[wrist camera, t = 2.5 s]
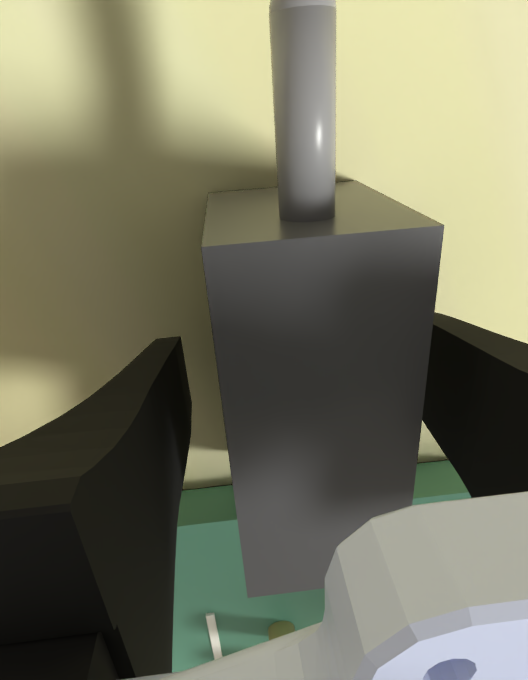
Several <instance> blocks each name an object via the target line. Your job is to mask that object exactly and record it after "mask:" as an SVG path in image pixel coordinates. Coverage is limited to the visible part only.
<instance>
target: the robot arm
mask: <svg viewBox="0 0 528 680" xmlns="http://www.w3.org/2000/svg"><path fill="white" fill-rule="evenodd" d="M191 412H192V402H191V396H190V390H189V384H188V378H187V372H186V367H185V361H184V355H183V349H182V343H181V337H171V338H161V339H156V340H155V341H153V342H152V343H151V344H150V345H149V346H148V347H147V348H146V349H145V350H144V351H143V352H141V353H140V354H139V355H138V356H137V357H136V358H135V359H134V360H133V361H132V362H131V363H130V364H129V365H128V366H126V367H125V368H124V369H123V370H122V371H121V372H120V373H119V374H117V375H116V376H115V377H114V378H113V379H111V380H110V381H109V382H108V383H107V384H105V385H104V386H103V387H102V388H100V389H99V390H98V391H97V392H95V393H94V394H93V395H91V396H90V397H89V398H87V399H86V400H84V401H83V402H82V403H80V404H79V405H77V406H76V407H74V408H72V409H71V410H69V411H68V412H66V413H65V414H63V415H62V416H60V417H58V418H56V419H55V420H53V421H51V422H49V423H47V424H45V425H44V426H42V427H40V428H38V429H36V430H34V431H33V432H31V433H29V434H27V435H25V436H23V437H21V438H19V439H17V440H15V441H13V442H11V443H9V444H6V445H4V446H2V447H0V680H528V344H527V343H523V342H520V341H517V340H514V339H511V338H508V337H505V336H502V335H500V334H497V333H494V332H491V331H489V330H486V329H483V328H480V327H478V326H475V325H472V324H469V323H467V322H464V321H461V320H458V319H456V318H453V317H450V316H446V315H443V314H439V313H435V312H434V319H433V328H432V337H431V345H430V354H429V363H428V372H427V380H426V389H425V398H424V407H423V415H422V420H423V422H424V423H425V425H426V426H427V428H428V429H429V431H430V432H431V434H432V435H433V437H434V438H435V440H436V442H437V443H438V445H439V446H440V448H441V449H442V451H443V452H444V454H445V455H446V457H447V458H448V460H449V461H450V463H451V464H452V466H453V467H454V469H455V470H456V472H457V473H458V475H459V476H460V478H461V480H462V481H463V483H464V485H465V486H466V488H467V490H468V492H469V494H470V496H471V498H468V499H460V500H452V501H443V502H435V503H427V504H418V505H412V506H409V507H405V508H402V509H399V510H396V511H392V512H389V513H386V514H383V515H379V516H376V517H373V518H371V519H370V520H369V521H367V522H366V523H365V524H364V525H362V526H361V527H360V528H359V529H357V530H356V531H355V532H354V533H352V534H351V535H350V536H349V537H348V538H346V539H345V540H344V541H343V542H341V543H340V544H339V545H338V546H337V547H336V550H335V552H334V555H333V558H332V560H331V563H330V566H329V568H328V571H327V573H326V576H325V611H324V616H323V621H322V622H320V623H317V624H314V625H311V626H308V627H306V628H303V629H300V630H297V631H294V632H291V633H289V634H286V635H283V636H280V637H277V638H275V639H272V640H269V641H266V642H263V643H260V644H258V645H255V646H252V647H249V648H246V649H244V650H241V651H238V652H235V653H232V654H229V655H227V656H224V657H221V658H218V659H215V660H213V661H210V662H207V663H204V664H201V665H198V666H196V667H193V668H190V669H187V670H184V671H181V672H173V673H172V648H173V611H174V583H175V559H176V540H177V522H178V514H179V505H180V499H181V493H182V487H183V481H184V475H185V469H186V463H187V457H188V450H189V444H190V437H191Z"/></svg>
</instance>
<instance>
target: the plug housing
mask: <svg viewBox="0 0 528 680" xmlns="http://www.w3.org/2000/svg"><path fill="white" fill-rule="evenodd" d="M269 24H270V43H271V63H272V83H273V103H274V122H275V142H276V162H277V181H278V187H273V188H261V189H249V190H237V191H225V192H213V193H208V200H207V207H206V215H205V222H204V230H203V237H202V245H201V250H202V257H203V265H204V272H205V280H206V287H207V295H208V302H209V310H210V317H211V325H212V333H213V340H214V348H215V355H216V363H217V370H218V378H219V385H220V393H221V400H222V408H223V416H224V423H225V431H226V438H227V446H228V453H229V461H230V468H231V476H232V483H233V491H234V499H235V506H236V514H237V521H238V529H239V536H240V544H241V551H242V559H243V566H244V574H245V582H246V589H247V597H248V598H252V597H260V596H268V595H276V594H284V593H292V592H300V591H307V590H315V589H323V588H325V576H326V573H327V571H328V568H329V566H330V563H331V560H332V558H333V555H334V552H335V550H336V547H337V546H338V545H339V544H340V543H341V542H343V541H344V540H345V539H346V538H348V537H349V536H350V535H351V534H352V533H354V532H355V531H356V530H357V529H359V528H360V527H361V526H362V525H364V524H365V523H366V522H367V521H369V520H370V519H371V518H373V517H376V516H379V515H383V514H386V513H389V512H392V511H396V510H399V509H402V508H405V507H409V506H412V503H413V494H414V485H415V476H416V468H417V459H418V450H419V442H420V433H421V424H422V415H423V407H424V398H425V389H426V380H427V372H428V363H429V354H430V345H431V337H432V328H433V319H434V310H435V302H436V293H437V284H438V276H439V267H440V258H441V249H442V241H443V232H444V225H443V224H441V223H439V222H437V221H435V220H433V219H431V218H429V217H427V216H425V215H423V214H421V213H419V212H417V211H415V210H413V209H411V208H409V207H407V206H405V205H403V204H401V203H399V202H397V201H395V200H393V199H391V198H389V197H388V196H386V195H384V194H382V193H380V192H378V191H376V190H374V189H372V188H370V187H368V186H366V185H364V184H362V183H360V182H358V181H345V182H335V159H336V0H271V1H270V6H269Z"/></svg>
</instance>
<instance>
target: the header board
mask: <svg viewBox="0 0 528 680" xmlns="http://www.w3.org/2000/svg"><path fill="white" fill-rule="evenodd" d="M468 498H471V496H470V494H469V492H468V490H467V488H466V486H465V485H464V483H463V481H462V480H461V478H460V476H459V475H458V473H457V472H456V470H455V469H454V467H453V466H452V464H451V463H450V461H449V460H445V461H436V462H428V463H419V464H417V468H416V476H415V485H414V494H413V503H412V505H418V504H427V503H435V502H443V501H452V500H460V499H468ZM324 611H325V588H323V589H315V590H307V591H300V592H292V593H284V594H276V595H268V596H260V597H252V598H248V597H247V589H246V582H245V574H244V566H243V559H242V551H241V544H240V536H239V529H238V521H237V514H236V506H235V499H234V491H233V485H227V486H219V487H210V488H201V489H192V490H184V491H182V493H181V499H180V505H179V514H178V522H177V540H176V559H175V583H174V611H173V648H172V673H173V672H181V671H184V670H187V669H190V668H193V667H196V666H198V665H201V664H204V663H207V662H210V661H213V660H215V659H218V658H221V657H224V656H227V655H229V654H232V653H235V652H238V651H241V650H244V649H246V648H249V647H252V646H255V645H258V644H260V643H263V642H266V641H269V640H272V639H275V638H277V637H280V636H283V635H286V634H289V633H291V632H294V631H297V630H300V629H303V628H306V627H308V626H311V625H314V624H317V623H320V622H322V621H323V616H324Z"/></svg>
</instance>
